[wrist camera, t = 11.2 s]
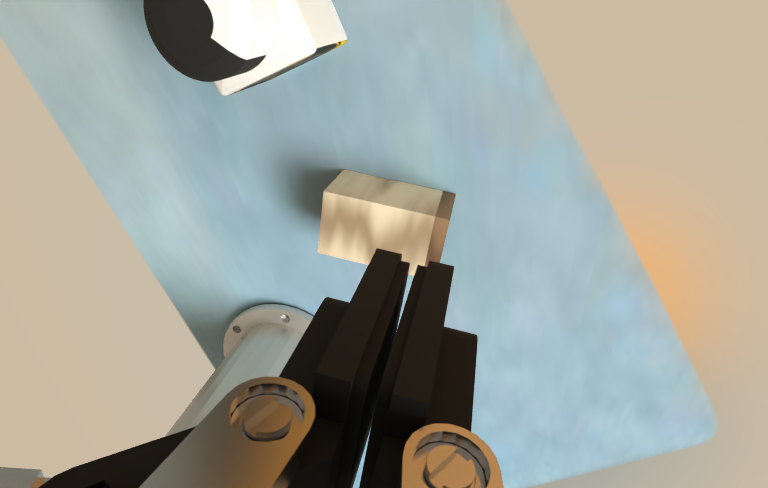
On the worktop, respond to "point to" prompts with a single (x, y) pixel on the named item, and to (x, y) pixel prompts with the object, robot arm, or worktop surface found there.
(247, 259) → the worktop surface
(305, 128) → the worktop surface
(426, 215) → the birch block
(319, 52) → the medicine bottle
